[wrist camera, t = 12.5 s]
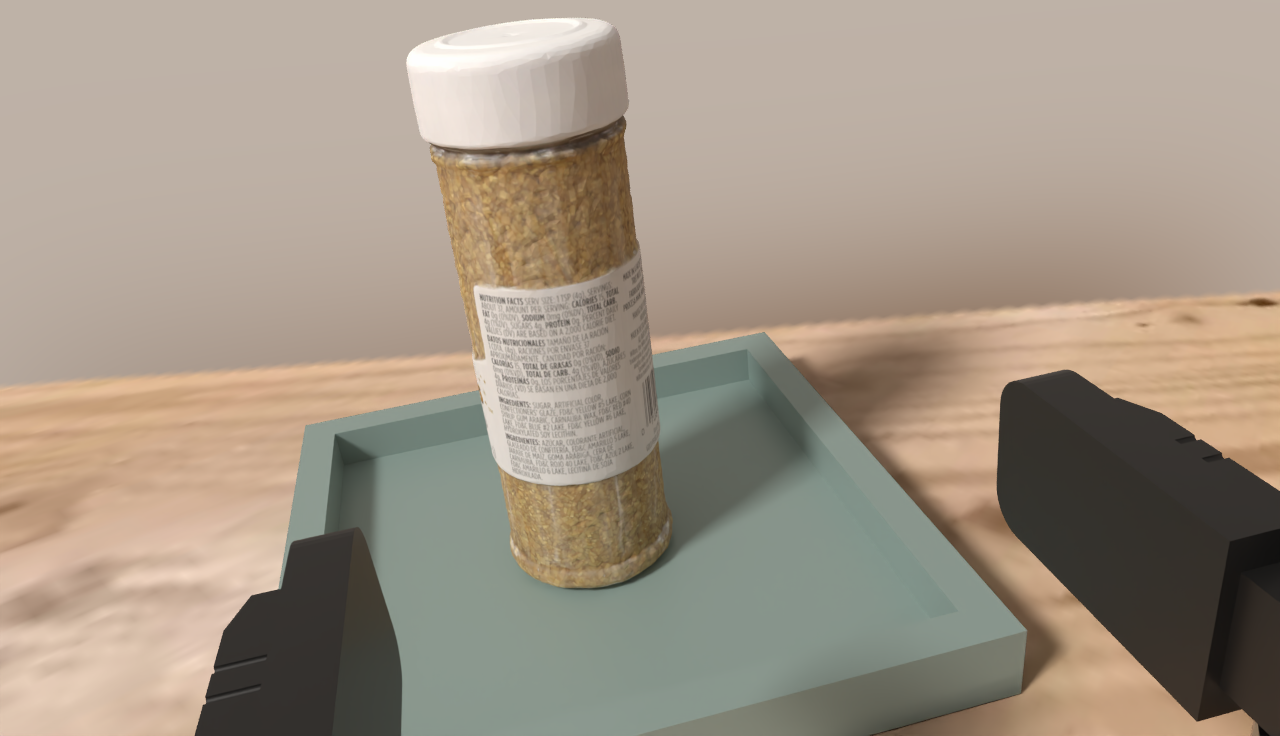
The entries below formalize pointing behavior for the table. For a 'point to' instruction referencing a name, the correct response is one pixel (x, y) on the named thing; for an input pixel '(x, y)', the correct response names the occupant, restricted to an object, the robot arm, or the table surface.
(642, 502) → the spice jar
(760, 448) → the tray
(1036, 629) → the table surface
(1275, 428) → the table surface
